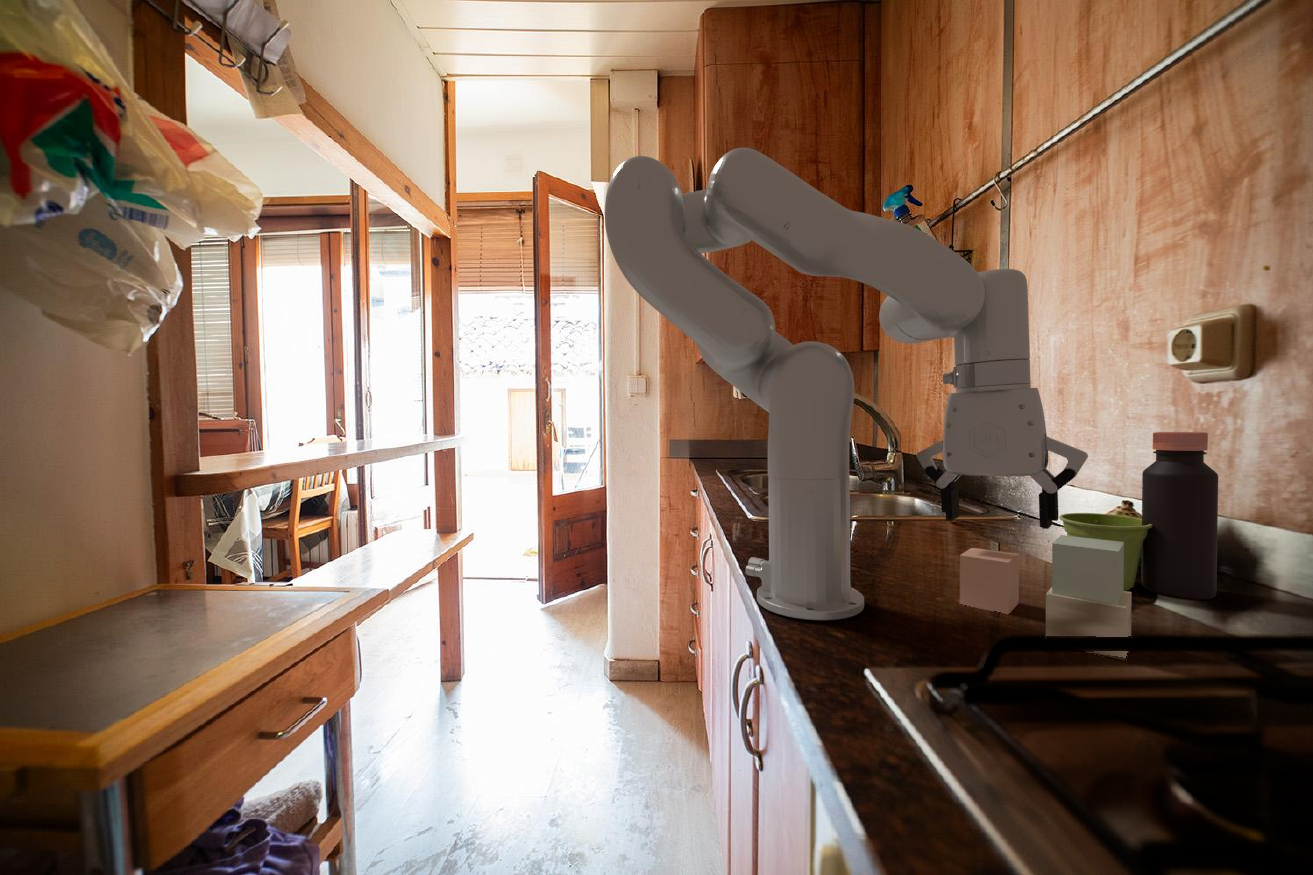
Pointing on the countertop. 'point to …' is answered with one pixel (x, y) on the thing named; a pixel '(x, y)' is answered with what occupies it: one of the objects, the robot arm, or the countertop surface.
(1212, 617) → the countertop surface
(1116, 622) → the tower base
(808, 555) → the robot arm
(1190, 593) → the bottle
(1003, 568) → the block
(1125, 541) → the plant pot
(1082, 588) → the tower top
